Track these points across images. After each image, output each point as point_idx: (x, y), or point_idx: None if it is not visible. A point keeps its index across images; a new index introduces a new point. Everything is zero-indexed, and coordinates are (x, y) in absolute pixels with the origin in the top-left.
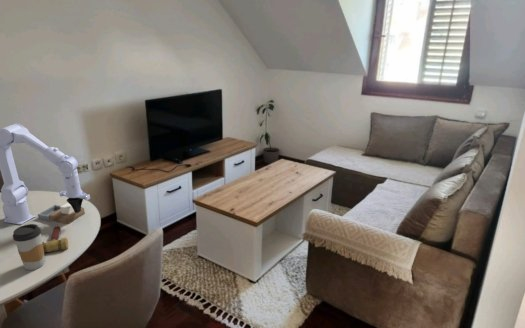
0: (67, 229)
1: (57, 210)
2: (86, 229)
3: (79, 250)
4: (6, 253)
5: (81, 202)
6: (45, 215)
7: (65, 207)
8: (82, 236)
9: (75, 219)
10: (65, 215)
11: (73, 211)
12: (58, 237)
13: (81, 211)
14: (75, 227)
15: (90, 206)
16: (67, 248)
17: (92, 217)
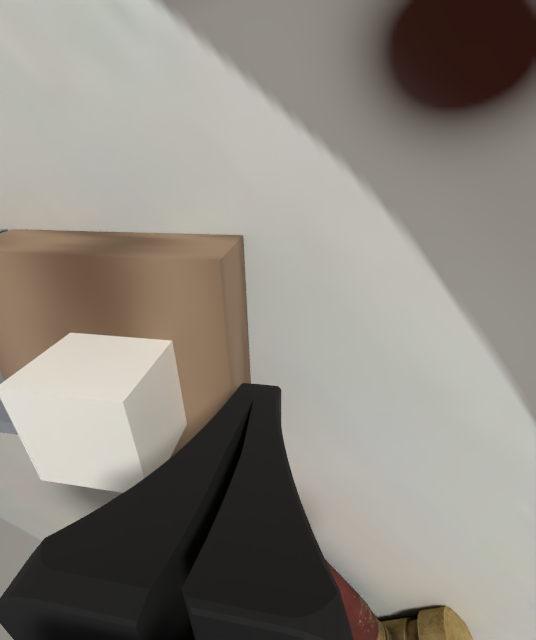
0: (307, 486)
1: (8, 376)
2: (469, 479)
3: None
4: None
5: (297, 507)
6: (6, 428)
7: (115, 490)
8: (490, 546)
9: (248, 365)
10: (177, 445)
11: (178, 371)
12: (350, 594)
13: (232, 299)
14: (349, 462)
15: (147, 5)
16: (469, 633)
17: (398, 296)
